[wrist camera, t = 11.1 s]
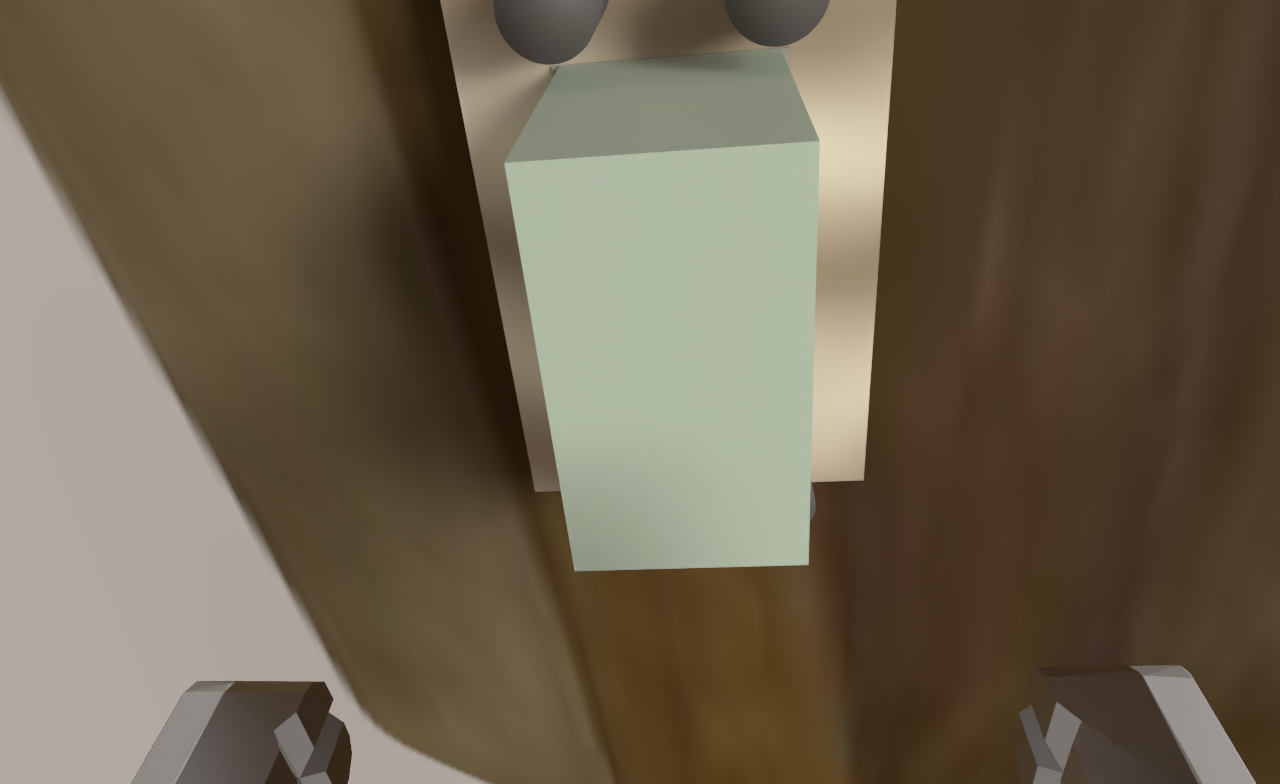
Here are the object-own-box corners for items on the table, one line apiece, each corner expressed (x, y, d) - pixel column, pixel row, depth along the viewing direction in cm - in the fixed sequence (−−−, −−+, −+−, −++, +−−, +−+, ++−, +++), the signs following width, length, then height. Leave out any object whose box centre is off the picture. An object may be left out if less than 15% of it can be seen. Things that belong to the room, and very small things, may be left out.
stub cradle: (442, -84, 20) (384, -65, 16) (890, -127, 19) (940, -118, 15) (542, 462, 28) (519, 557, 24) (855, 450, 27) (881, 546, 23)
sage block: (559, 65, 20) (503, 162, 14) (780, 48, 19) (820, 141, 13) (602, 395, 25) (574, 571, 19) (779, 387, 24) (808, 564, 18)
